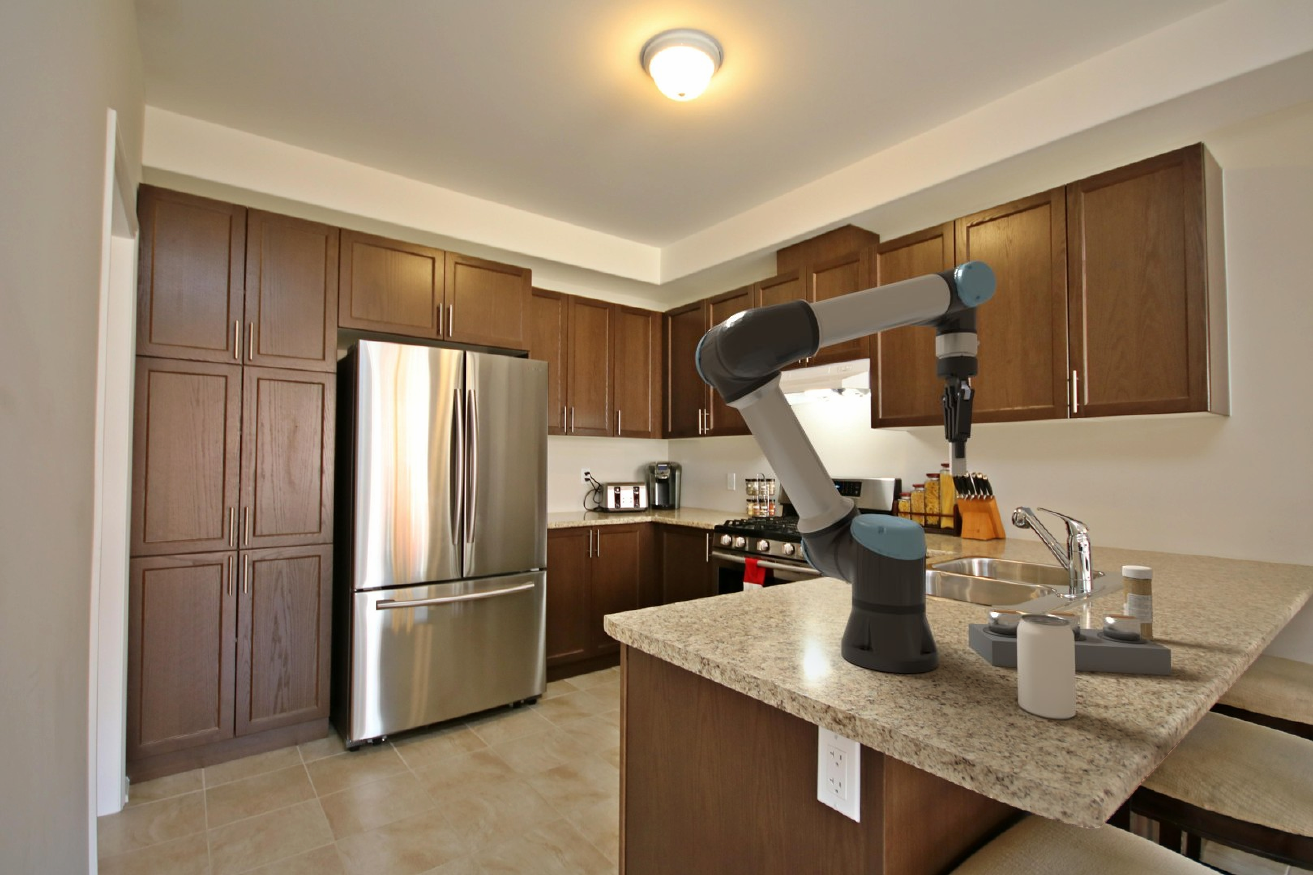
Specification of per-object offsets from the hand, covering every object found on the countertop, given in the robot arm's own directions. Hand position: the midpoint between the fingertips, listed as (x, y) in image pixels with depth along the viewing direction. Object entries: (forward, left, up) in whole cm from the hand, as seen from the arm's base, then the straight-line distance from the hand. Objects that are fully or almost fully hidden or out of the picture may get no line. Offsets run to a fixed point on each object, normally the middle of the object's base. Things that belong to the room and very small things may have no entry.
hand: (957, 475), depth 123 cm
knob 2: (+20, -17, -26) cm, 37 cm away
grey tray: (+11, -17, -30) cm, 36 cm away
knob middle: (+11, -17, -26) cm, 33 cm away
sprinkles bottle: (+32, 0, -31) cm, 44 cm away
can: (-2, -41, -31) cm, 51 cm away
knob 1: (+2, -17, -26) cm, 31 cm away
